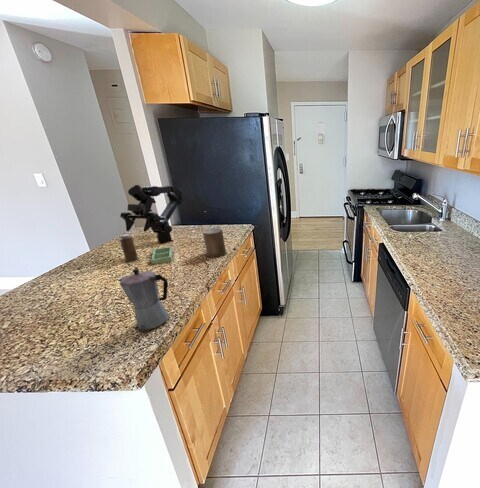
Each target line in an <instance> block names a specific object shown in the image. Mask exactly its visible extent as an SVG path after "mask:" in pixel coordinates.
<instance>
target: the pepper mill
mask: <svg viewBox="0 0 480 488" xmlns="http://www.w3.org/2000/svg"><path fill="white" fill-rule="evenodd" d="M118 239H119V243H120V246H121V249H122V252H123V255H124V260H125V262H127V263H131V262H135V261H138V260H139V256H138V253H137V250H136V249H137V248H136V246H135V243H134V239H133V236H131V235H130V234H129V233H124V234H121V235H120V237H119V238H118Z"/></svg>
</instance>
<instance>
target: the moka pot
mask: <svg viewBox="0 0 480 488" xmlns="http://www.w3.org/2000/svg"><path fill="white" fill-rule="evenodd" d="M132 272H133V273H131V274H129V275H124V276H122V277H120V278H119V279H118V280H117V282H119V285H120V287H121V288H122V290H123V292H124V293H125V295H126V297H127V299H128V300H129V302H130V303H131V304H132V305H133V307H134V308H133V309H134V314H135V319H136V325H137V328H138V329H140V330H142V331H146V330H147V331H148V330H152V329H155V328H158V327H160V326H162V325H163V324H164V323H166V322H167V321H168V319H169V314H168V312H167V310H166V308H165V306H164V305H163V302H162V301H165V300H167V299H168V298H167V297H168V288H169V283H168V282H169V281H168V279H167V278H166V277H165V276H162V275H161V274H160V273H159V274H156V271H152V270H151V271H150V270H144V271H140V270H139V269H138V268H135V269H132ZM158 281H163V285H162V286H163V288H162V291H163V292H162V293H163V294H162V297H160V296H159V285H158Z"/></svg>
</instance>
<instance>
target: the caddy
mask: <svg viewBox="0 0 480 488" xmlns="http://www.w3.org/2000/svg"><path fill="white" fill-rule="evenodd" d="M150 261H151V265H157V264H162V263H164V264H165V263H168V262H172V261H173V247H172V246H165V247H159V248H154V249H153V251H152V256H151V260H150Z"/></svg>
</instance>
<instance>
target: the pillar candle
mask: <svg viewBox="0 0 480 488" xmlns="http://www.w3.org/2000/svg"><path fill="white" fill-rule="evenodd" d="M202 235H203V241H204V246H205V251H206V255H207V256H208V257H211V258H220V257H223V256H225V255H226V254H227V250H226V245H225V239H224V233H223V229H222V228H221V227H209V228H206V229H204V230H203V231H202Z"/></svg>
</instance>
